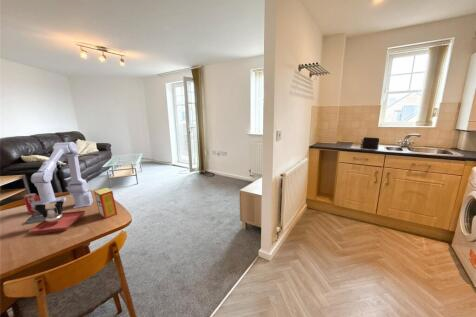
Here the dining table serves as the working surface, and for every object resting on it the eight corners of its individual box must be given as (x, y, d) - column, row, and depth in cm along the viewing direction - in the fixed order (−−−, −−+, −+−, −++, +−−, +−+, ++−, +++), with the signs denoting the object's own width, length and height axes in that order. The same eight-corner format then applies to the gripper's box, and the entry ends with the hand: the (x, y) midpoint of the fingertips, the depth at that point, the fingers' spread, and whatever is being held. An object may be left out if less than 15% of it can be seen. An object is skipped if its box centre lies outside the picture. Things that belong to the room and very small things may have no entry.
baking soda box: (99, 214, 121) (94, 190, 117) (111, 209, 126) (106, 187, 122) (105, 219, 115) (99, 194, 111) (117, 214, 120) (112, 190, 116)
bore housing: (62, 209, 128) (61, 205, 127) (53, 219, 117) (52, 214, 117) (39, 213, 124) (37, 209, 123) (27, 223, 113) (26, 219, 112)
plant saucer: (29, 236, 102) (27, 231, 101) (55, 217, 119) (54, 213, 118) (67, 232, 104) (65, 227, 103) (87, 214, 121) (86, 210, 120)
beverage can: (44, 209, 130) (39, 192, 127) (34, 214, 124) (28, 197, 121) (36, 209, 130) (31, 192, 127) (25, 214, 124) (20, 196, 121)
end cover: (64, 214, 116) (61, 204, 114) (60, 220, 110) (57, 209, 108) (49, 218, 113) (45, 207, 111) (44, 224, 107) (40, 212, 105)
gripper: (24, 198, 100) (32, 221, 104) (59, 193, 106) (65, 215, 109) (32, 193, 107) (39, 215, 110) (65, 188, 112) (71, 209, 115)
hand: (53, 215), depth 110 cm, fingers open, 6 cm apart
